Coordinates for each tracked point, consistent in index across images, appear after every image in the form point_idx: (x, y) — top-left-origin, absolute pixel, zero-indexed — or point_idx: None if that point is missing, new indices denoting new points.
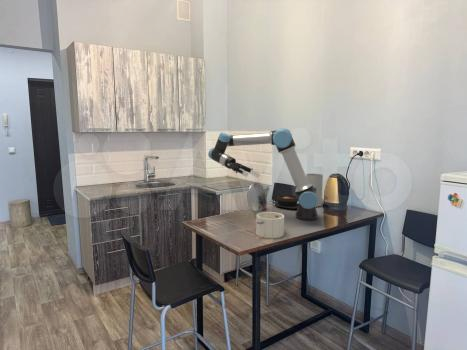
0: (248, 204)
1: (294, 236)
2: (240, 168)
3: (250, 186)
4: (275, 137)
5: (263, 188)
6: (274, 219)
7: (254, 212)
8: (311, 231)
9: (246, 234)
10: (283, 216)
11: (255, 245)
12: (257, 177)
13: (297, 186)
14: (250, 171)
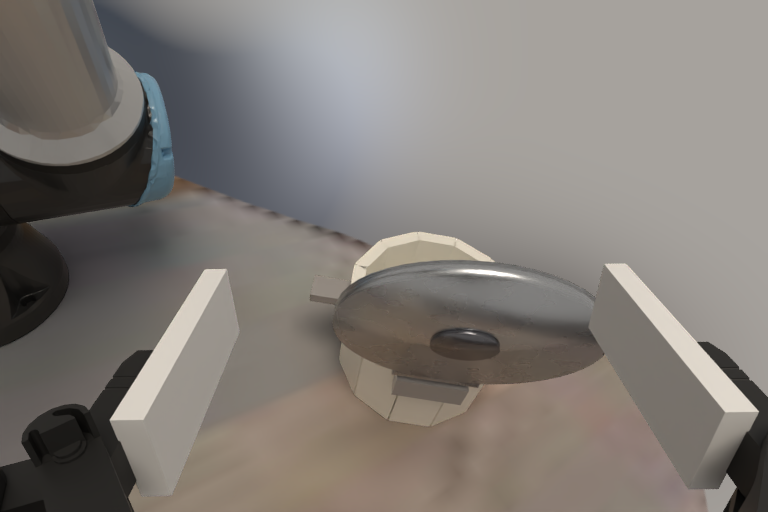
0: (565, 372)
1: None
2: (724, 407)
3: (588, 297)
4: None
5: (360, 279)
6: (484, 255)
7: (478, 384)
8: (267, 222)
9: (511, 452)
10: (404, 237)
11: None
12: (239, 331)
13: (103, 103)
14: (160, 459)
